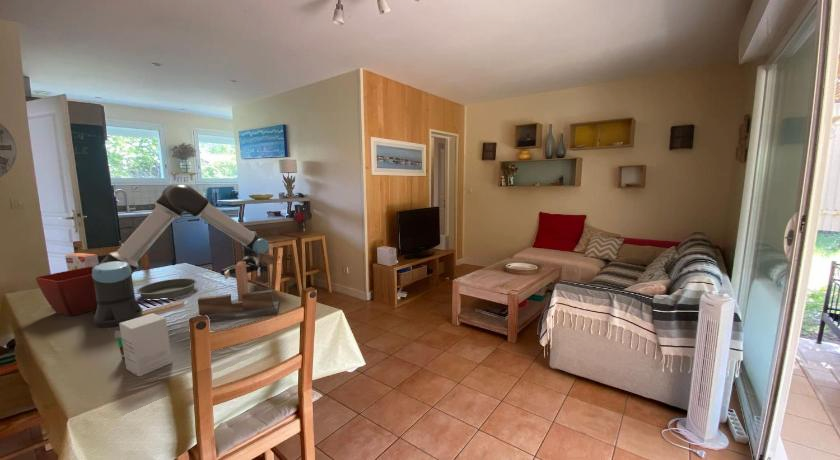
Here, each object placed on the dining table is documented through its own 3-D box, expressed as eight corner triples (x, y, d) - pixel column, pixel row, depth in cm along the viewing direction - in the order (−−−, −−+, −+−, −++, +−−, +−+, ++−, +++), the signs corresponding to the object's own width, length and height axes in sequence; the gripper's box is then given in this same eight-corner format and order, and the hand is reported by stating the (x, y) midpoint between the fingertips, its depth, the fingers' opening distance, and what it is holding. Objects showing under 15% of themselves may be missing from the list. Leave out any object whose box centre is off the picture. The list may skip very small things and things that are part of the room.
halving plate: (242, 298, 166) (238, 261, 164) (248, 297, 167) (245, 261, 164) (238, 304, 158) (235, 266, 155) (245, 303, 159) (242, 265, 156)
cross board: (199, 311, 150) (197, 293, 148) (279, 302, 159) (277, 285, 158) (189, 324, 136) (187, 304, 135) (276, 313, 146) (275, 295, 145)
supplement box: (159, 355, 112) (153, 312, 110) (173, 363, 108) (167, 317, 106) (125, 369, 105) (118, 322, 103) (138, 377, 100) (131, 328, 98)
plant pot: (41, 314, 149) (34, 276, 146) (96, 300, 166) (90, 266, 163) (64, 321, 141) (57, 281, 139) (119, 305, 159) (114, 269, 156)
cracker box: (71, 295, 172) (64, 254, 169) (85, 291, 178) (79, 252, 175) (90, 298, 168) (83, 256, 165) (104, 294, 174) (98, 253, 171)
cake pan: (138, 292, 177) (137, 284, 176) (195, 283, 192) (194, 275, 191) (136, 306, 158) (135, 297, 157) (199, 295, 172) (199, 286, 172)
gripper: (275, 268, 184) (271, 279, 164) (222, 273, 176) (212, 285, 157) (274, 255, 183) (270, 264, 163) (221, 259, 175) (210, 269, 155)
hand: (242, 274), depth 160 cm, fingers open, 13 cm apart
